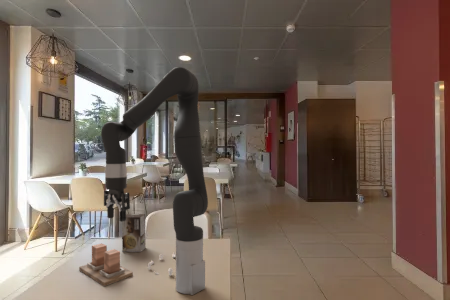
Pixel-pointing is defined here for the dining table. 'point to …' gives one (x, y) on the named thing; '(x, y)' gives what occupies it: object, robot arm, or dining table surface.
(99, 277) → the board
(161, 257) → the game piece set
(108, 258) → the pin
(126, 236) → the coffee box
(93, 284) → the dining table surface
